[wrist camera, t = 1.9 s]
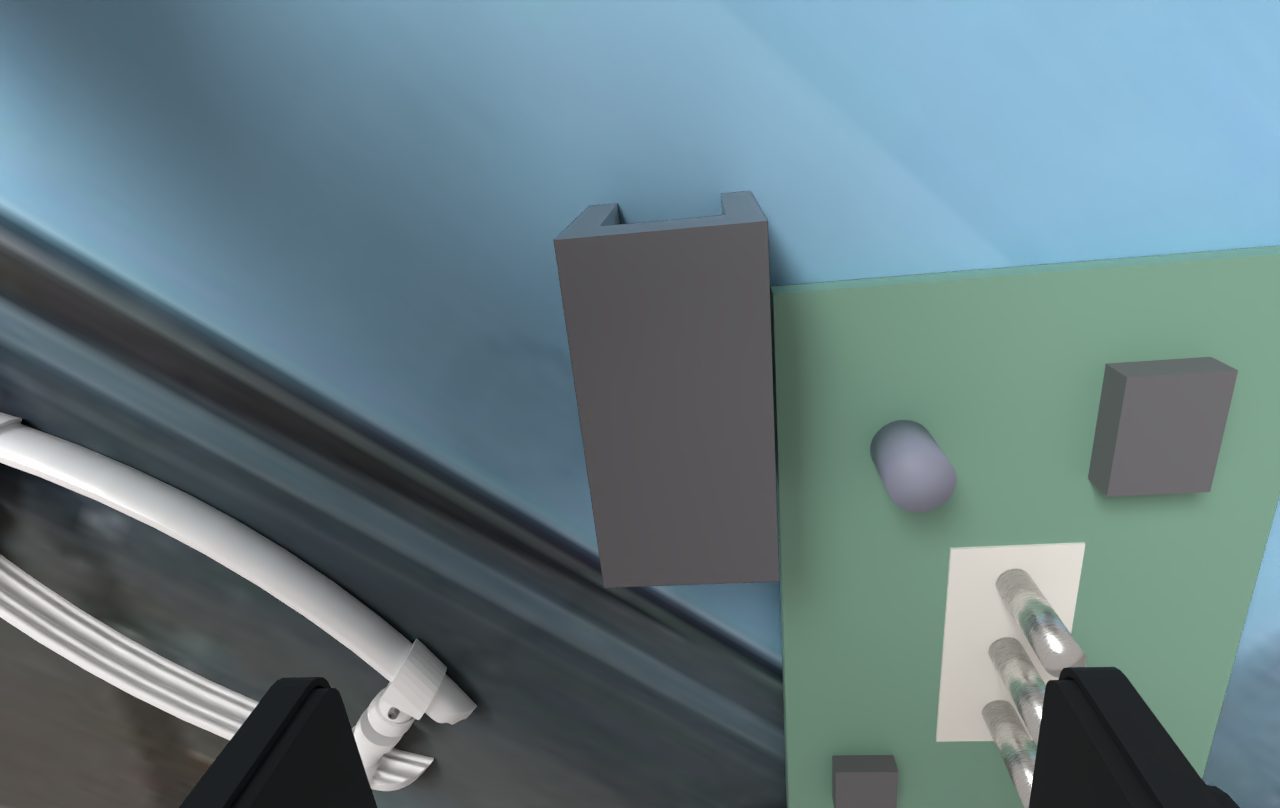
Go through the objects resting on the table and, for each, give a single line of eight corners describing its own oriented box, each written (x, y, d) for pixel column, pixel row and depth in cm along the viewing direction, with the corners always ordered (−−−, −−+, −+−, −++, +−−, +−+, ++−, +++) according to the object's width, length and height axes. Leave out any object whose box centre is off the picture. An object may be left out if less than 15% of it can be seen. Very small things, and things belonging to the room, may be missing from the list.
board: (770, 286, 23) (781, 315, 20) (1318, 242, 21) (1425, 266, 18) (787, 814, 32) (796, 891, 29) (1171, 813, 30) (1225, 895, 27)
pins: (995, 567, 25) (1046, 647, 21) (1032, 566, 25) (1088, 646, 21) (979, 721, 28) (1021, 816, 24) (1011, 721, 28) (1059, 816, 24)
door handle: (-69, 327, 26) (510, 659, 30) (-117, 511, 30) (406, 787, 34) (-148, 350, 24) (493, 708, 28) (-191, 548, 28) (383, 842, 31)
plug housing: (589, 205, 22) (553, 240, 17) (750, 190, 22) (767, 220, 16) (624, 485, 26) (604, 587, 21) (761, 478, 26) (779, 581, 20)
